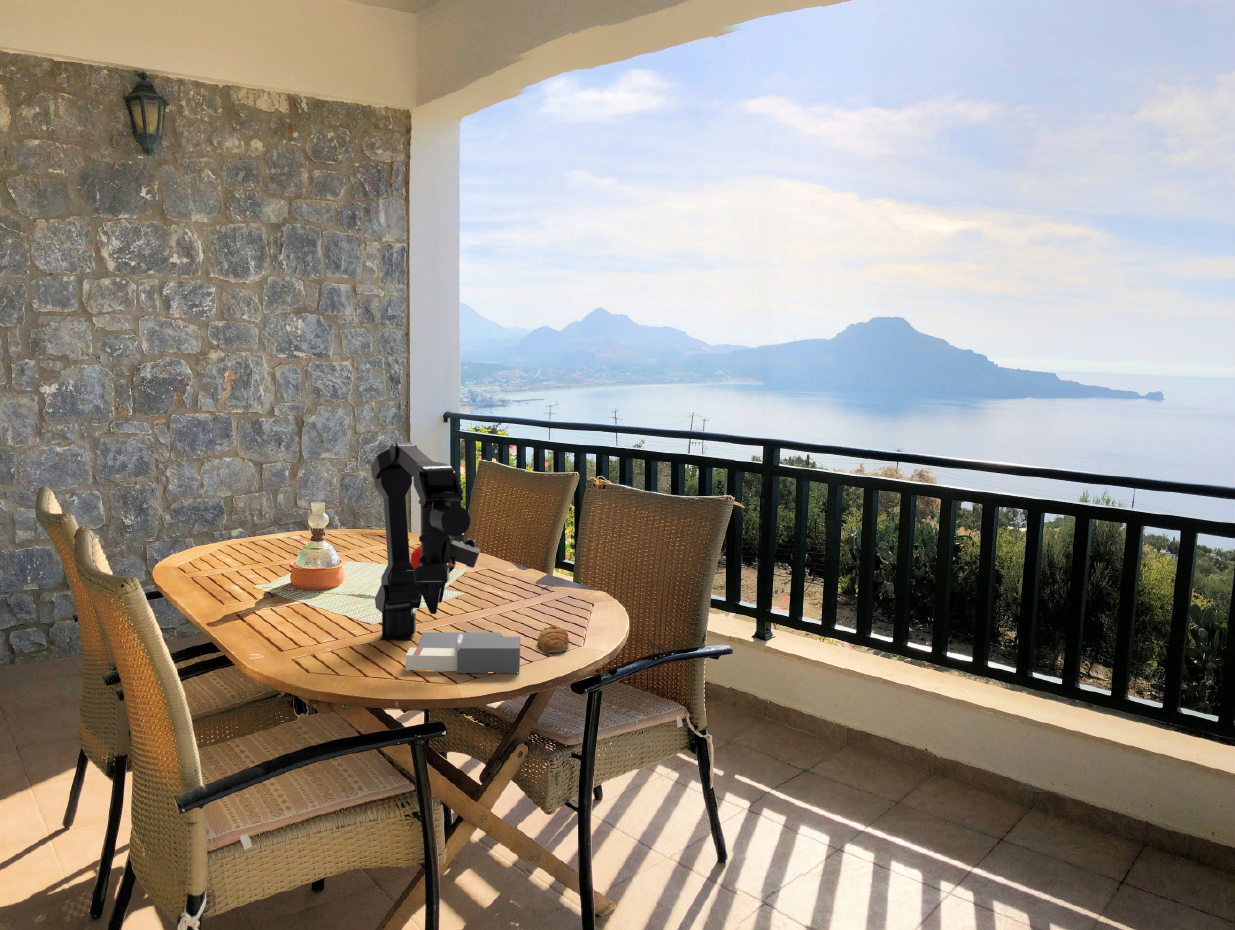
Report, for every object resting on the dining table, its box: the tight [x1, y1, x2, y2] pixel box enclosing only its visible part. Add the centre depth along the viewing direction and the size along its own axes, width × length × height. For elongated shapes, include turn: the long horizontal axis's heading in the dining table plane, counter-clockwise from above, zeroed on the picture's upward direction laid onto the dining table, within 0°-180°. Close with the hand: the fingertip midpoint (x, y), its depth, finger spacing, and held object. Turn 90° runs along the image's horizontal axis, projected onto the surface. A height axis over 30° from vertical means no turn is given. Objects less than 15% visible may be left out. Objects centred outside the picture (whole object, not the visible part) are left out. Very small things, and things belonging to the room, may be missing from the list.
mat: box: [416, 631, 502, 648], centre depth 184 cm, size 17×13×1 cm
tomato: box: [410, 545, 452, 569], centre depth 241 cm, size 11×12×9 cm
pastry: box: [536, 625, 570, 654], centre depth 184 cm, size 9×7×4 cm
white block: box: [405, 647, 458, 672], centre depth 170 cm, size 14×4×4 cm, turn 93°
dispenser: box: [455, 634, 521, 674], centre depth 171 cm, size 12×8×6 cm, turn 96°
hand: (436, 607), depth 169 cm, fingers open, 9 cm apart
